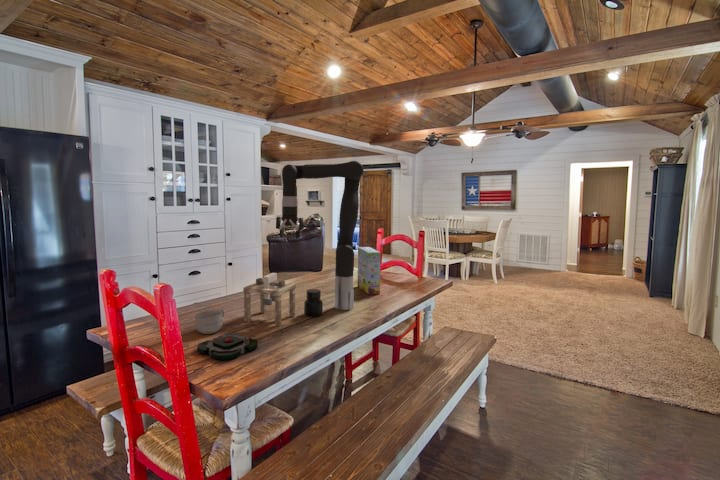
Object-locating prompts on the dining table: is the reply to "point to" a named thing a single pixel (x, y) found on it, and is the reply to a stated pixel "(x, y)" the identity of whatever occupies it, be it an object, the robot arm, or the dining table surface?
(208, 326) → the teacup
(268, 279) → the white rectangular prism
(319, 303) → the ink bottle
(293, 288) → the beige wooden frame
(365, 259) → the snack box
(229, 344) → the four-lobed dark green device
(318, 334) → the dining table surface
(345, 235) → the robot arm
